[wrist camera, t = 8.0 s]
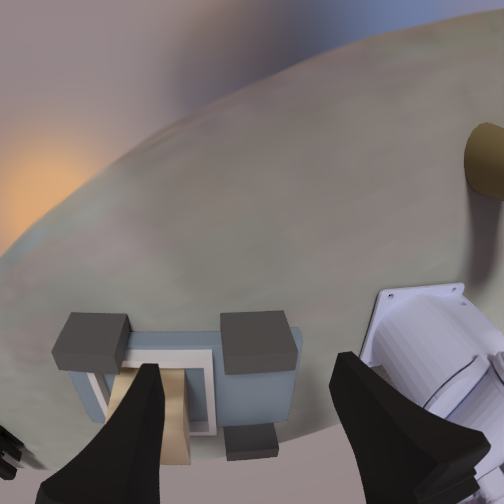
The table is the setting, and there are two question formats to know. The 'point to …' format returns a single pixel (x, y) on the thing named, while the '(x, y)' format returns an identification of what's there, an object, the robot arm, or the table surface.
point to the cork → (486, 160)
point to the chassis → (195, 371)
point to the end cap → (9, 453)
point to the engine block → (175, 411)
